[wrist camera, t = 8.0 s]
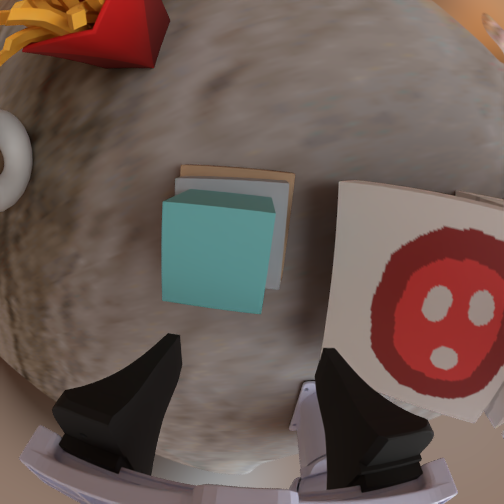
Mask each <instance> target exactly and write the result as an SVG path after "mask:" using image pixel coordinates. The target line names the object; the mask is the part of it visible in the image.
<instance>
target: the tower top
mask: <svg viewBox="0 0 504 504" xmlns="http://www.w3.org/2000/svg"><path fill="white" fill-rule="evenodd" d="M189 189H197V190H208V191H219V192H229V193H238V194H247V195H255V196H264V197H272V201H273V204H274V208H275V212H276V216H275V223H274V230H273V237H272V244H271V251H270V258H269V265H268V272H267V278H266V285H265V289H278V290H279V288H280V279H281V269H282V259H283V250H284V239H285V229H286V218H287V206H288V195H289V183H288V182H287V181H286V180H273V179H259V178H241V177H219V176H182V177H178V178H175V196H176V195H178V194H180V193H182V192H185V191H187V190H189Z"/></svg>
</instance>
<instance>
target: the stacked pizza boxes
mask: <svg viewBox="0 0 504 504" xmlns="http://www.w3.org/2000/svg"><path fill="white" fill-rule="evenodd" d="M323 348H335V349H336V350H337V351H338V352H339V354H340V355H341V356H342V357H343V358H344V359H345V361H346V362H347V363H348V364H349V365H350V366H351V368H352V369H353V370H354V371H355V372H356V373H357V374H358V375H359V376H360V377H361V378H362V379H363V380H364V381H365V382H366V383H367V384H368V385H369V386H370V387H371V388H373V389H374V390H375V391H377V392H379V393H382V394H385V395H387V396H390V397H393V398H395V399H398V400H401V401H404V402H407V403H409V404H412V405H415V406H418V407H421V408H424V409H427V410H430V411H433V412H437V413H440V414H443V415H446V416H450V417H453V418H457V419H460V420H464V421H468V422H471V423H475V422H476V421H477V419H478V418H479V417H480V415H481V414H482V413H483V411H484V412H485V414H486V415H487V417H488V419H489V420H490V422H491V424H492V425H493V427H494V428H497V427H498V426H500V425H502V424H504V199H499V198H494V197H489V196H484V195H479V194H474V193H468V192H462V191H456V192H455V196H453V195H448V194H443V193H438V192H433V191H427V190H422V189H416V188H410V187H404V186H397V185H391V184H384V183H376V182H369V181H361V180H349V181H339V192H338V211H337V226H336V239H335V250H334V261H333V271H332V280H331V288H330V296H329V304H328V311H327V318H326V325H325V331H324V338H323V344H322V350H321V354H322V351H323ZM320 357H321V355H320ZM501 434H502V436H503V438H504V430H503V431H502V433H501Z"/></svg>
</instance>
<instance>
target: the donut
mask: <svg viewBox="0 0 504 504" xmlns="http://www.w3.org/2000/svg"><path fill="white" fill-rule="evenodd" d="M0 150H1V152H2V154H3V157H4V170H3V172H2V173H1V174H0V212H2V211H4V210H6V209H8V208H9V207H11V206H13V205H14V204H15V203H16V202H17V201H18V199H19V198H20V197H21V196H22V195H23V193H24V191H25V189H26V187H27V184H28V182H29V180H30V176H31V171H32V165H33V160H32V147H31V143H30V138H29V136H28V134H27V132H26V129H25V127H24V126H23V124H22V123H21V122H20V120H19V119H18V118H17V117H16V116H14V115H13V114H11V113H10V112H9V111H6V110H1V109H0Z"/></svg>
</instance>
